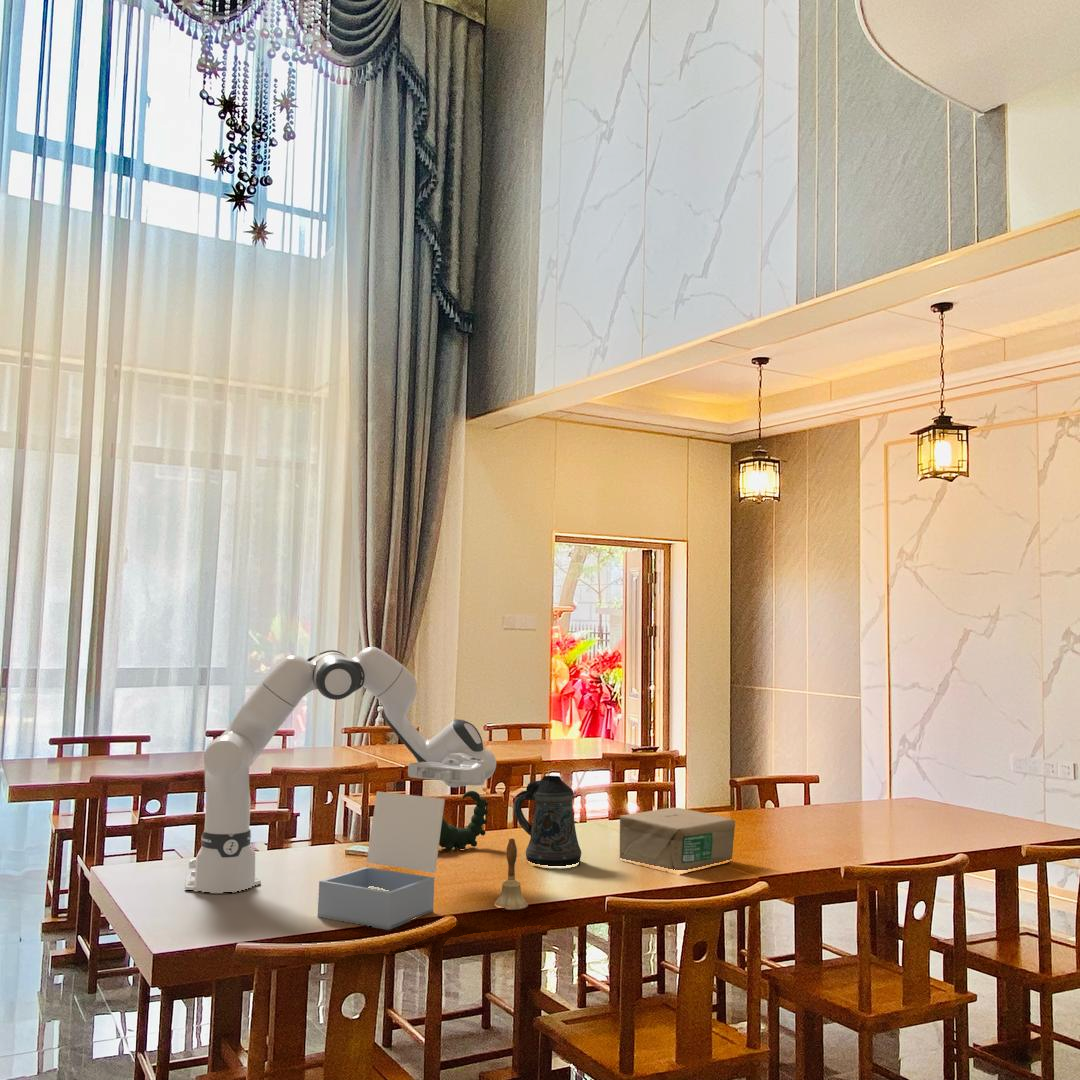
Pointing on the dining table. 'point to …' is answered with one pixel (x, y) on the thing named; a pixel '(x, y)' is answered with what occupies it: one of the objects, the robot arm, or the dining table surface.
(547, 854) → the beer stein
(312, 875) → the dining table surface
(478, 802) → the toy figurine
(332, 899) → the box
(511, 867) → the hand bell
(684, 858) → the paper package
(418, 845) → the lid
